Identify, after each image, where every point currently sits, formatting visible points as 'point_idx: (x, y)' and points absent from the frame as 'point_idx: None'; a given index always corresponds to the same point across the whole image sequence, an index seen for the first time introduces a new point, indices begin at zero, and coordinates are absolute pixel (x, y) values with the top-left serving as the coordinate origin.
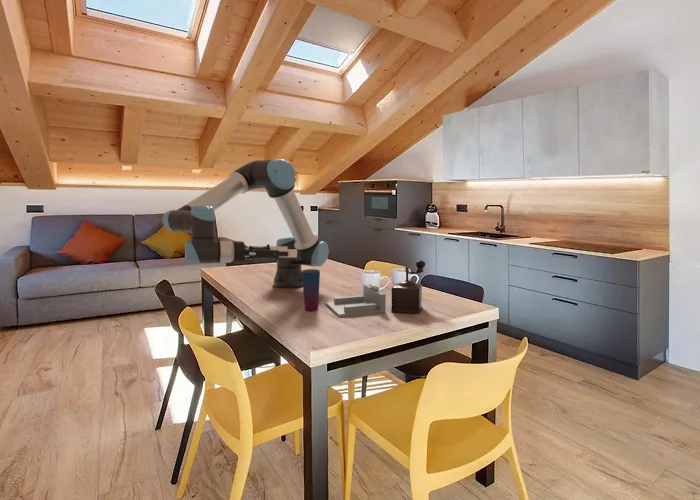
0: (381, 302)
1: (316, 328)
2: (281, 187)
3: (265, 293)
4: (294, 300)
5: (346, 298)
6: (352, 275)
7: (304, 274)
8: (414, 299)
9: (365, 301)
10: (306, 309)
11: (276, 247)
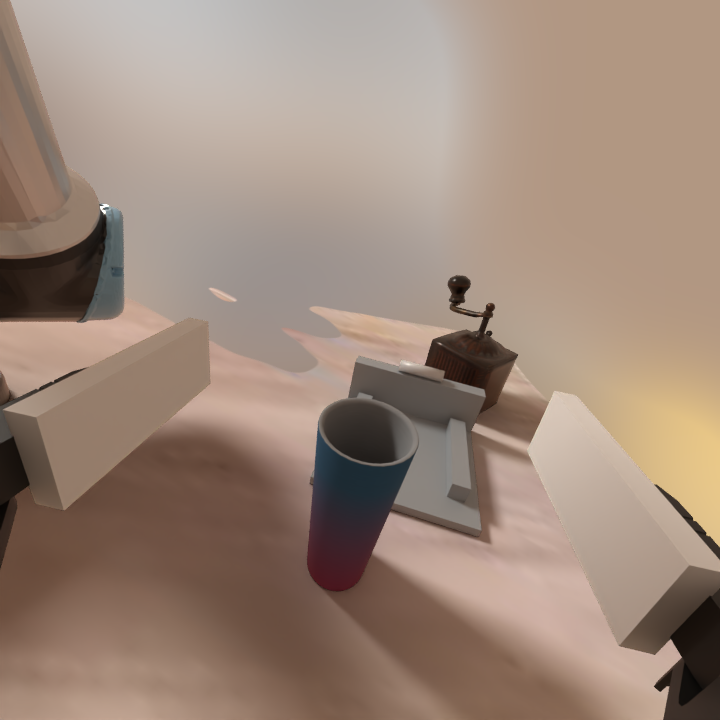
0: (477, 413)
1: (626, 713)
2: None
3: None
4: (147, 540)
5: None
6: None
7: (384, 476)
8: (506, 376)
9: None
10: (344, 587)
11: (121, 380)
